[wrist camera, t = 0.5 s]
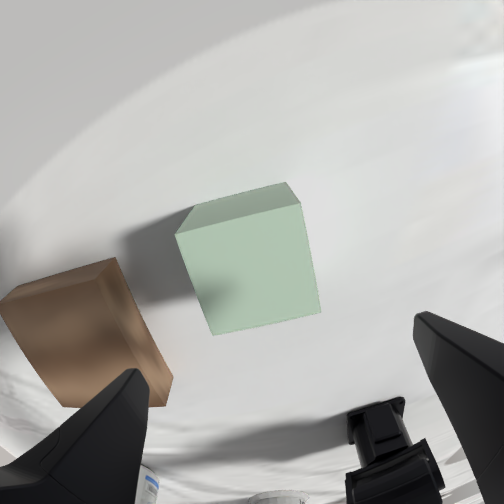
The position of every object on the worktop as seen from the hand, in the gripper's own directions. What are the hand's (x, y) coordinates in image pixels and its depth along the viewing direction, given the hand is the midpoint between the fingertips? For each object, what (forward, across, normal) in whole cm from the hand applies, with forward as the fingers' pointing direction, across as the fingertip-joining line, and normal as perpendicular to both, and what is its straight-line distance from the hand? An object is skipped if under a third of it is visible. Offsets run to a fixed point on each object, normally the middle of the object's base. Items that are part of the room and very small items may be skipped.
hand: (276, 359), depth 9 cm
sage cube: (+12, +1, 0) cm, 13 cm away
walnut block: (+13, +17, +6) cm, 22 cm away
